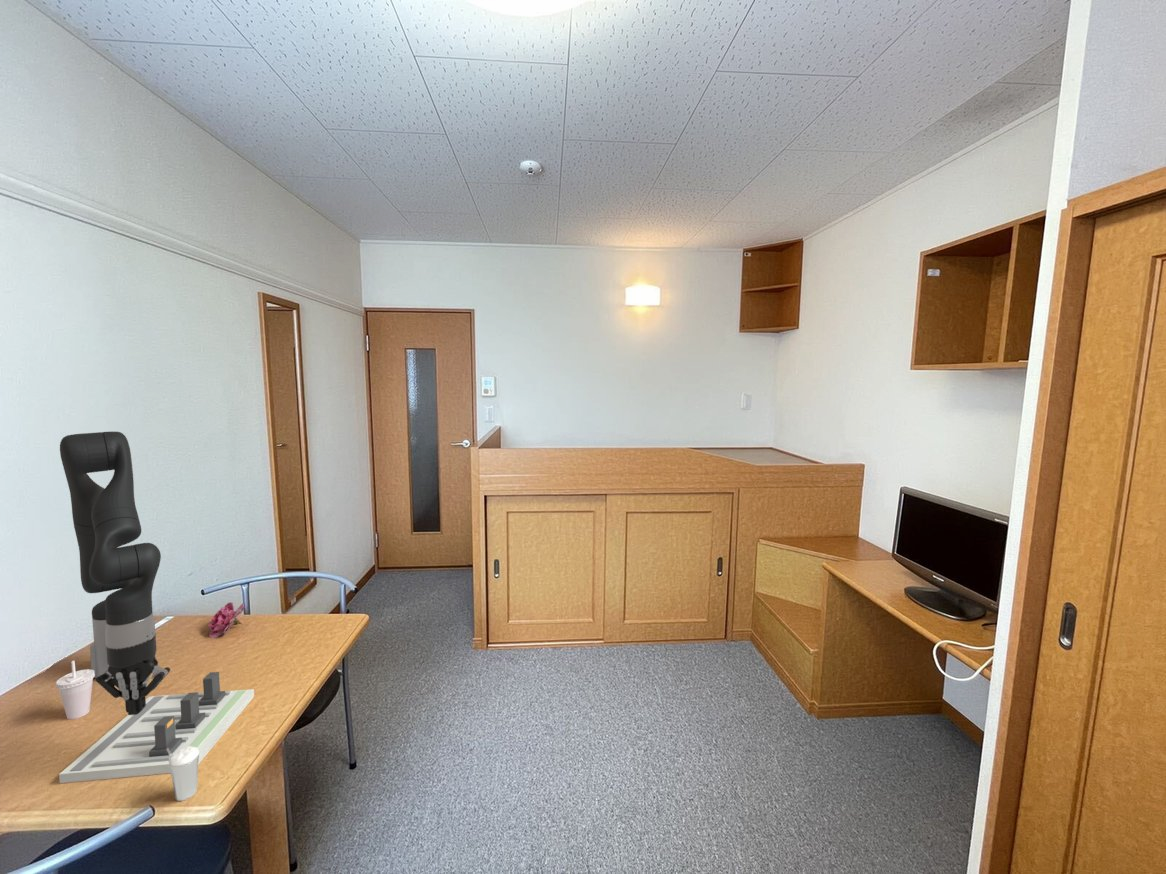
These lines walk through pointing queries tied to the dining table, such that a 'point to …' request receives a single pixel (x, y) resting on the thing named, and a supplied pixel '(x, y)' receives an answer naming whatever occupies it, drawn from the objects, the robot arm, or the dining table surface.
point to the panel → (135, 734)
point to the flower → (224, 620)
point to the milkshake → (184, 772)
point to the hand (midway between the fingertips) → (136, 712)
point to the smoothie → (76, 692)
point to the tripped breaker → (165, 737)
